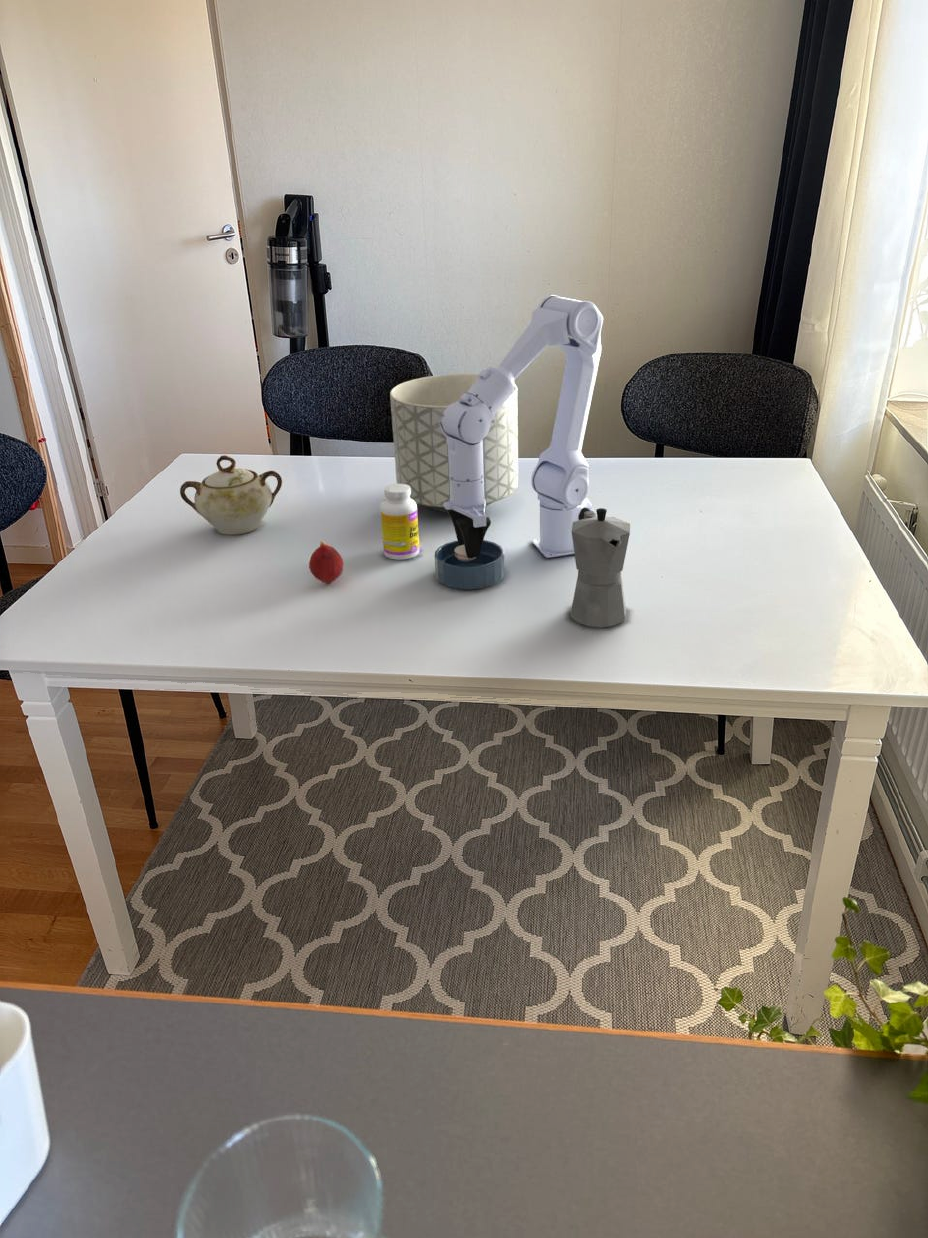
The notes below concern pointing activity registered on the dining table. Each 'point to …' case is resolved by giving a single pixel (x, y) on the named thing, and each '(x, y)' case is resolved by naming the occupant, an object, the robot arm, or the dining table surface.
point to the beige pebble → (462, 554)
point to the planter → (426, 444)
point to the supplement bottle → (399, 523)
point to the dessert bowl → (470, 566)
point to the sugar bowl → (233, 498)
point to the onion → (326, 563)
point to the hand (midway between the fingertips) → (469, 551)
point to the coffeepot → (599, 568)
